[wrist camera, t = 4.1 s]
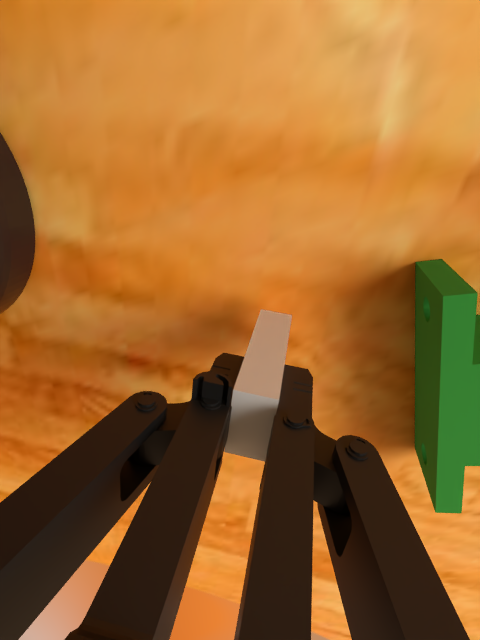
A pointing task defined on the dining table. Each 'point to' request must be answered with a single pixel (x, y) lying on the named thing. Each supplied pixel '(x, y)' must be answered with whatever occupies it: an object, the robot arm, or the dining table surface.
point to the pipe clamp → (446, 381)
